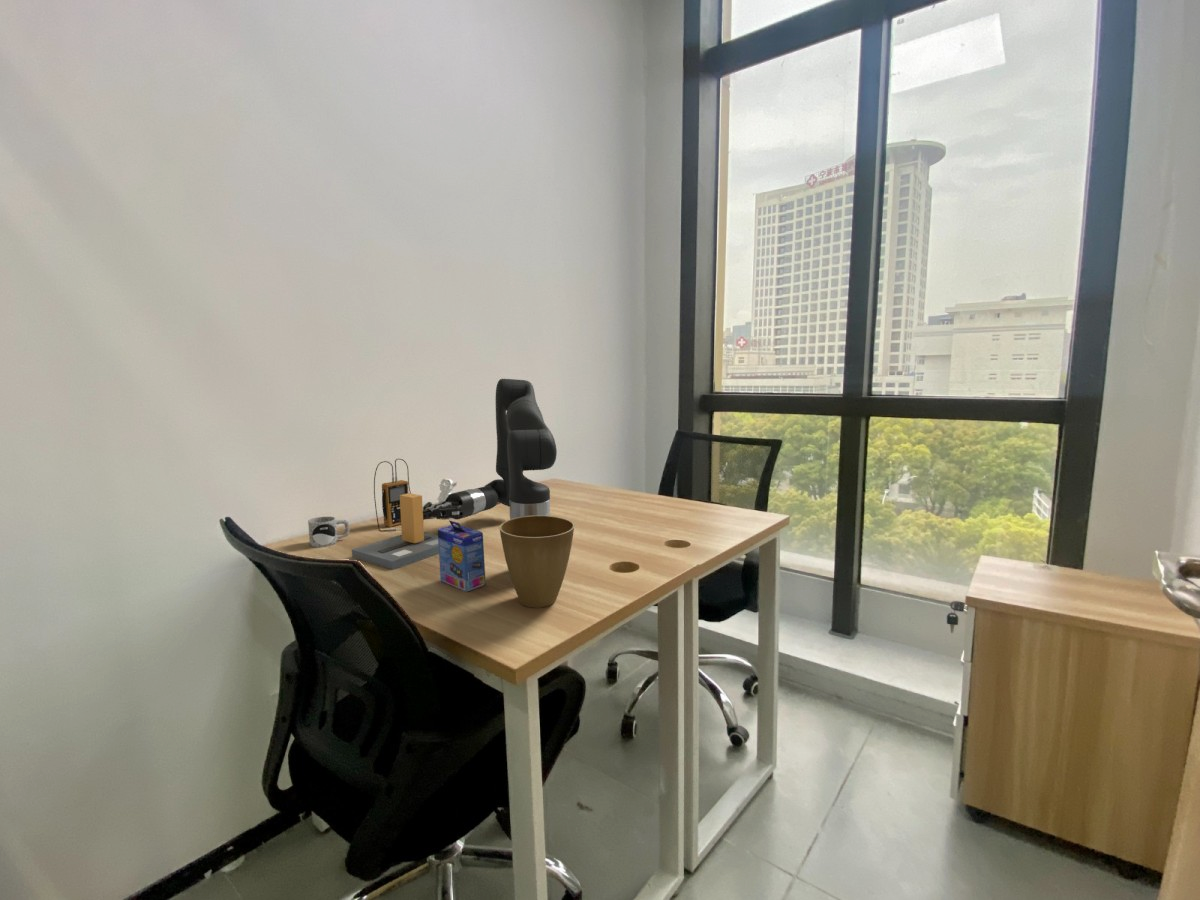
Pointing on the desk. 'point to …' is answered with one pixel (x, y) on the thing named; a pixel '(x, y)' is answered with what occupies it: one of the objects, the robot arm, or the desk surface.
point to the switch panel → (397, 551)
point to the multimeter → (392, 499)
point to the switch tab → (411, 518)
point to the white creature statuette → (446, 489)
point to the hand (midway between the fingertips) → (416, 516)
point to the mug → (325, 531)
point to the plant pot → (537, 556)
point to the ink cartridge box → (461, 557)
